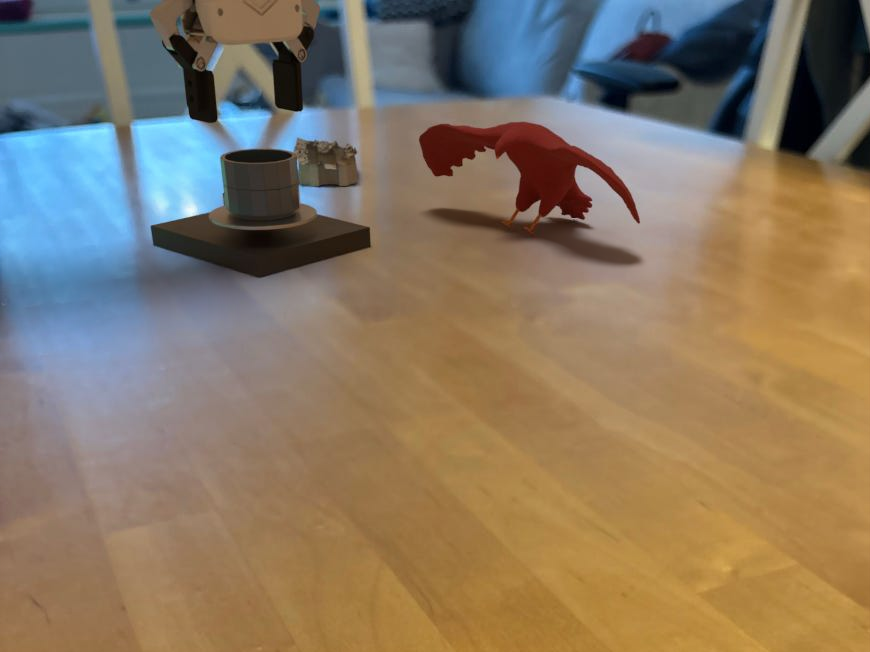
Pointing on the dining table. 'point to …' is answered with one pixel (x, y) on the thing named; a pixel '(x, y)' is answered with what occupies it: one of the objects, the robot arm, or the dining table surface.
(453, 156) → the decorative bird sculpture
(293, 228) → the scale
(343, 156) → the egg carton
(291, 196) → the cylindrical container
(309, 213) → the grey round platter
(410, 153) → the dining table surface
